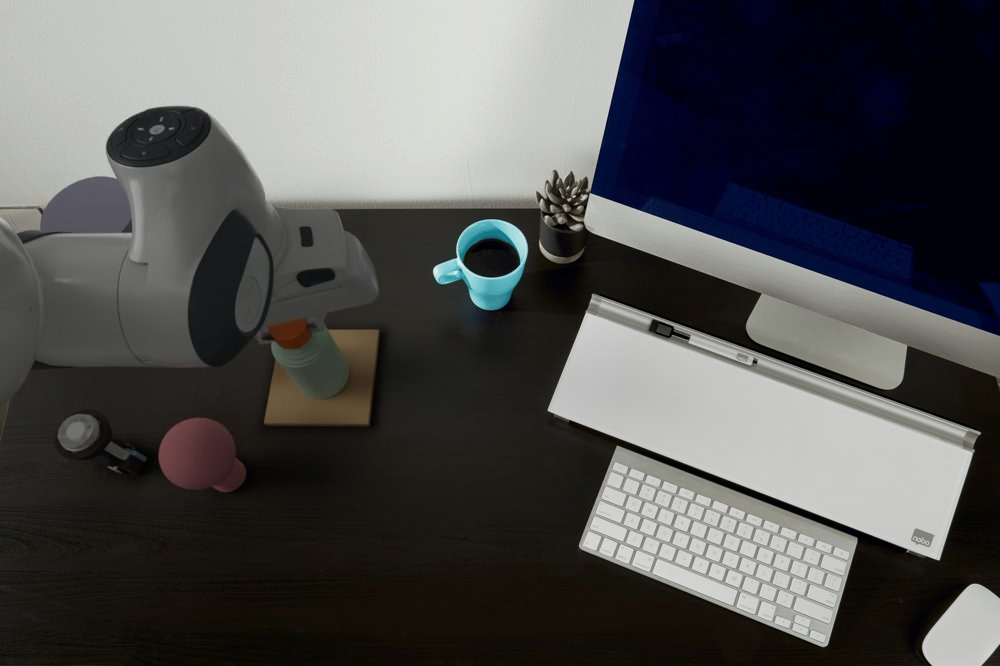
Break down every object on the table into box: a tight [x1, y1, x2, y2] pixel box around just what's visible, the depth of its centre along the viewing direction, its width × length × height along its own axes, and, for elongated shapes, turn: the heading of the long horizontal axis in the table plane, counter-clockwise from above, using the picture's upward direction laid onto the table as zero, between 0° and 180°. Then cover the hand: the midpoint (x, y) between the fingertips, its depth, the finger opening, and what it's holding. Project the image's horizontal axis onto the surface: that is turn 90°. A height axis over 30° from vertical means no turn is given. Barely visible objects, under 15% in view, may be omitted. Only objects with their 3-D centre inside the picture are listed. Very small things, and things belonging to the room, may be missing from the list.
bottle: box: [270, 325, 349, 399], centre depth 79 cm, size 6×6×12 cm
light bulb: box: [158, 417, 247, 493], centre depth 75 cm, size 7×7×12 cm
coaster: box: [263, 329, 381, 427], centre depth 85 cm, size 12×12×1 cm
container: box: [39, 175, 132, 233], centre depth 86 cm, size 10×10×15 cm
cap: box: [268, 318, 312, 350], centre depth 74 cm, size 4×4×2 cm
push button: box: [54, 408, 148, 476], centre depth 78 cm, size 7×5×10 cm
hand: (293, 331), depth 75 cm, fingers closed on cap, 4 cm apart
